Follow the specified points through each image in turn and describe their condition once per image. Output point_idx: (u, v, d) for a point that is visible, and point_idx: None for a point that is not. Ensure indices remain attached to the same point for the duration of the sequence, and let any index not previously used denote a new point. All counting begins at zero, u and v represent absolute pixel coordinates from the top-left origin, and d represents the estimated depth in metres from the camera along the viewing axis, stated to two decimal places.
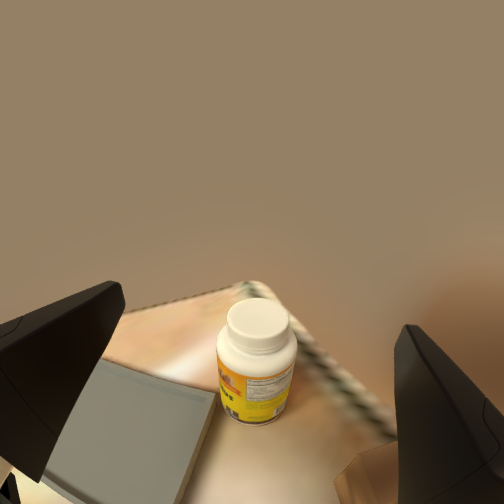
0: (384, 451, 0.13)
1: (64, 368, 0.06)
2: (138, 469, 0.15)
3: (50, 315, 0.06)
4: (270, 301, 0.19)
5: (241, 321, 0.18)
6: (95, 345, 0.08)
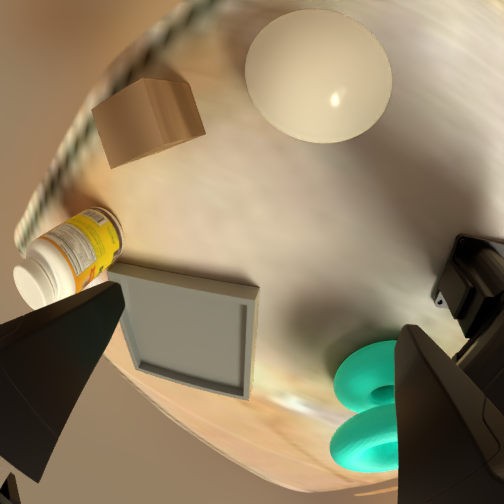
0: (106, 141, 0.14)
1: (64, 368, 0.06)
2: (195, 315, 0.26)
3: (50, 315, 0.06)
4: (15, 279, 0.16)
5: (37, 302, 0.16)
6: (95, 345, 0.08)
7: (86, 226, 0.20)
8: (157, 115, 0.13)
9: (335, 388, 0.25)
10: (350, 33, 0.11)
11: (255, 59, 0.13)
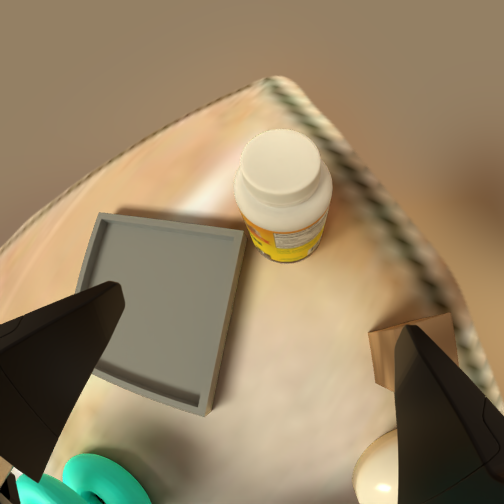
0: None
1: (64, 368, 0.06)
2: (177, 334, 0.21)
3: (50, 315, 0.06)
4: (295, 133, 0.14)
5: (258, 169, 0.13)
6: (95, 345, 0.08)
7: (316, 239, 0.19)
8: None
9: (93, 460, 0.17)
10: None
11: None
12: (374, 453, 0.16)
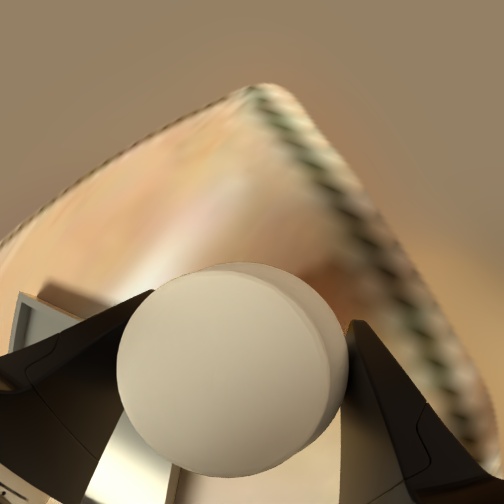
0: None
1: (108, 388, 0.06)
2: (117, 469, 0.12)
3: (93, 331, 0.06)
4: (263, 292, 0.05)
5: (156, 405, 0.04)
6: None
7: None
8: None
9: None
10: None
11: None
12: None
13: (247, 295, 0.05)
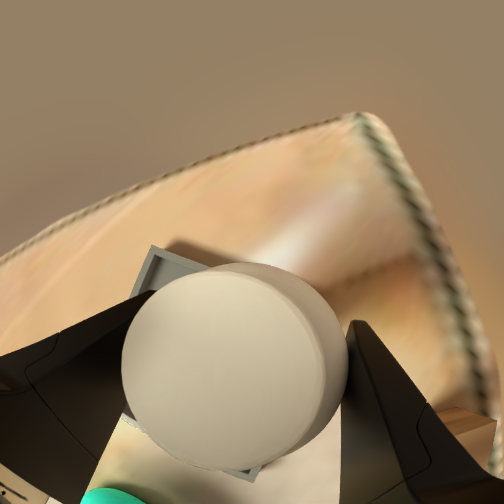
0: (471, 435, 0.11)
1: (108, 388, 0.06)
2: None
3: (93, 332, 0.06)
4: (261, 291, 0.05)
5: (158, 400, 0.05)
6: None
7: None
8: None
9: (120, 499, 0.16)
10: None
11: None
12: None
13: (245, 294, 0.05)
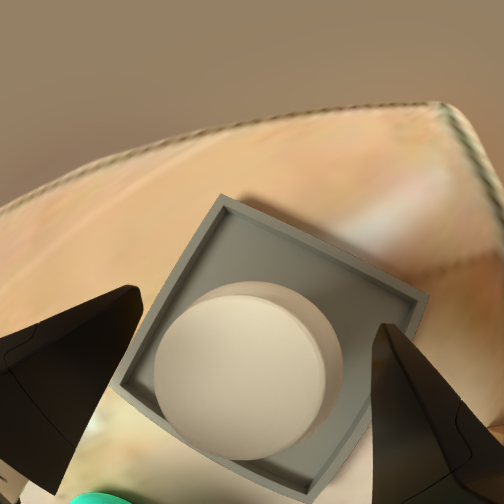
0: None
1: (83, 377, 0.06)
2: None
3: (68, 322, 0.06)
4: (274, 313, 0.06)
5: (188, 403, 0.06)
6: (114, 352, 0.07)
7: None
8: None
9: None
10: None
11: None
12: None
13: (262, 315, 0.06)
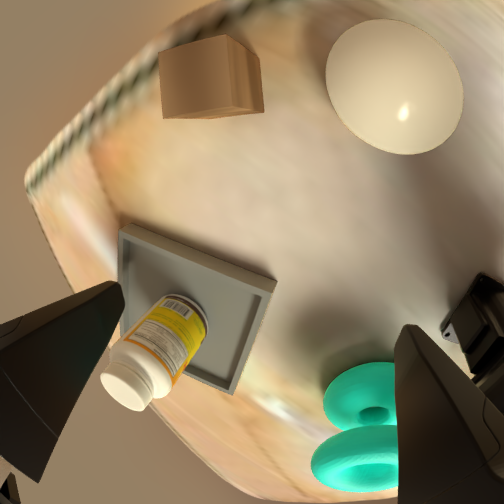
0: (167, 89, 0.13)
1: (64, 368, 0.06)
2: (202, 296, 0.24)
3: (50, 315, 0.06)
4: (102, 381, 0.18)
5: (133, 404, 0.17)
6: (95, 345, 0.08)
7: (174, 322, 0.22)
8: (231, 75, 0.12)
9: (325, 400, 0.24)
10: (430, 51, 0.10)
11: (338, 58, 0.12)
12: (348, 128, 0.15)
13: (104, 384, 0.18)
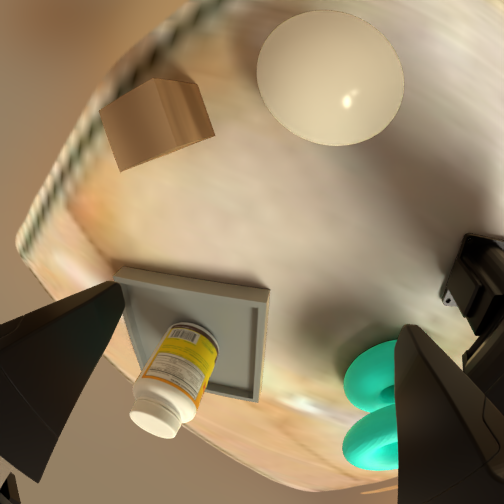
0: (115, 143, 0.14)
1: (64, 368, 0.06)
2: (204, 318, 0.25)
3: (50, 315, 0.06)
4: (132, 418, 0.18)
5: (165, 433, 0.18)
6: (95, 345, 0.08)
7: (184, 350, 0.23)
8: (169, 117, 0.13)
9: (345, 388, 0.24)
10: (355, 31, 0.11)
11: (266, 68, 0.13)
12: None
13: (135, 420, 0.19)
